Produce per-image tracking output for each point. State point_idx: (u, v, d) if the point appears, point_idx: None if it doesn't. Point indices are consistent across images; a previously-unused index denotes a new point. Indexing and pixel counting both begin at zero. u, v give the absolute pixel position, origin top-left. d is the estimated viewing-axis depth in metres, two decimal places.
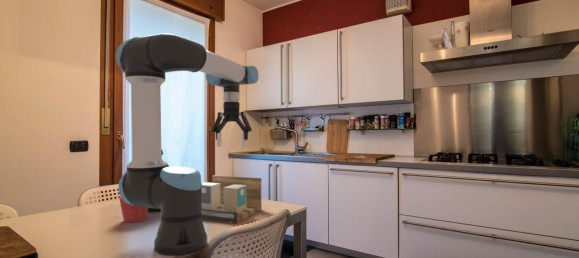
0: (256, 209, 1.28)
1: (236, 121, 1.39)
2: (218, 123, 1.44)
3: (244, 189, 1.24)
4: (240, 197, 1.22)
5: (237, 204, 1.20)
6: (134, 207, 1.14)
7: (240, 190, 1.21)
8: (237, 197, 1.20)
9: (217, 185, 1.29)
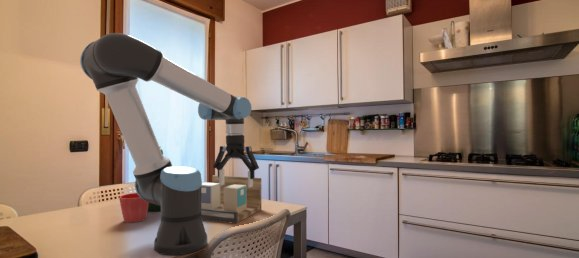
0: (256, 209, 1.28)
1: (241, 157, 1.21)
2: (220, 158, 1.27)
3: (244, 189, 1.24)
4: (240, 197, 1.22)
5: (237, 204, 1.20)
6: (134, 207, 1.14)
7: (240, 190, 1.21)
8: (237, 197, 1.20)
9: (217, 185, 1.29)
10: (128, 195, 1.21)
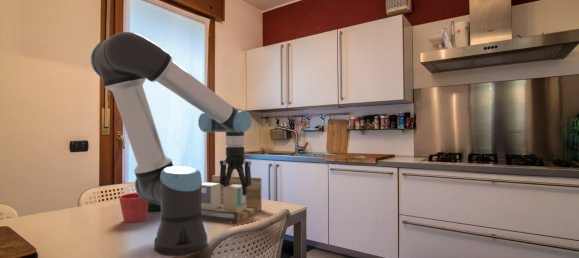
0: (256, 209, 1.28)
1: (238, 171, 1.22)
2: (224, 173, 1.26)
3: None
4: None
5: (237, 204, 1.20)
6: (134, 207, 1.14)
7: None
8: (237, 197, 1.20)
9: (217, 185, 1.29)
10: (128, 195, 1.21)
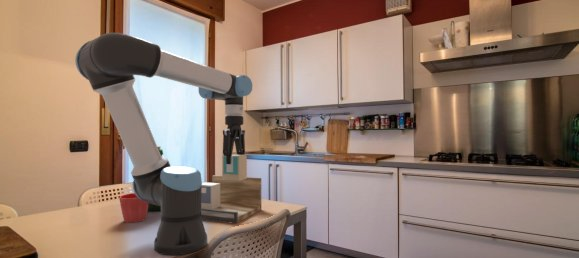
0: (256, 209, 1.28)
1: None
2: (240, 142, 1.30)
3: (234, 159, 1.22)
4: None
5: (224, 171, 1.24)
6: (134, 207, 1.14)
7: None
8: (224, 164, 1.24)
9: (217, 185, 1.29)
10: (128, 195, 1.21)
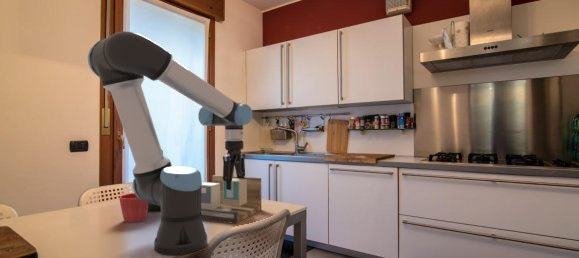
0: (256, 209, 1.28)
1: None
2: (241, 166, 1.30)
3: (234, 184, 1.22)
4: None
5: (224, 196, 1.24)
6: (134, 207, 1.14)
7: None
8: (224, 189, 1.24)
9: (217, 185, 1.29)
10: (128, 195, 1.21)
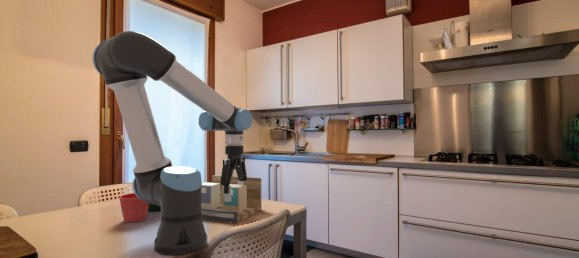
0: (256, 209, 1.28)
1: None
2: (242, 169, 1.31)
3: (234, 190, 1.22)
4: None
5: (224, 202, 1.24)
6: (134, 207, 1.14)
7: None
8: None
9: (217, 185, 1.29)
10: (128, 195, 1.21)
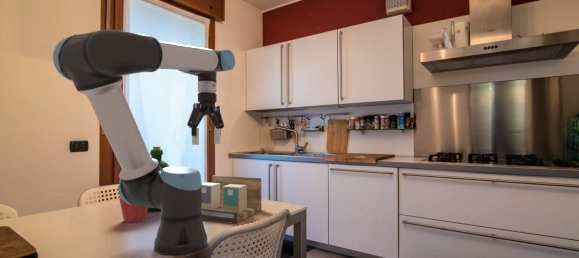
0: (256, 209, 1.28)
1: None
2: None
3: (234, 190, 1.22)
4: (227, 196, 1.23)
5: (224, 202, 1.24)
6: (134, 207, 1.14)
7: (227, 189, 1.23)
8: (224, 195, 1.24)
9: (217, 185, 1.29)
10: None
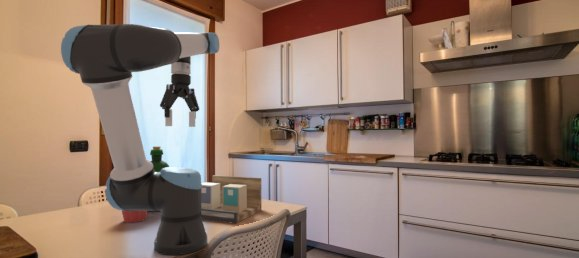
0: (256, 209, 1.28)
1: None
2: (192, 101, 1.30)
3: (234, 190, 1.22)
4: (227, 196, 1.23)
5: (224, 202, 1.24)
6: None
7: (227, 189, 1.23)
8: (224, 195, 1.24)
9: (217, 185, 1.29)
10: None
